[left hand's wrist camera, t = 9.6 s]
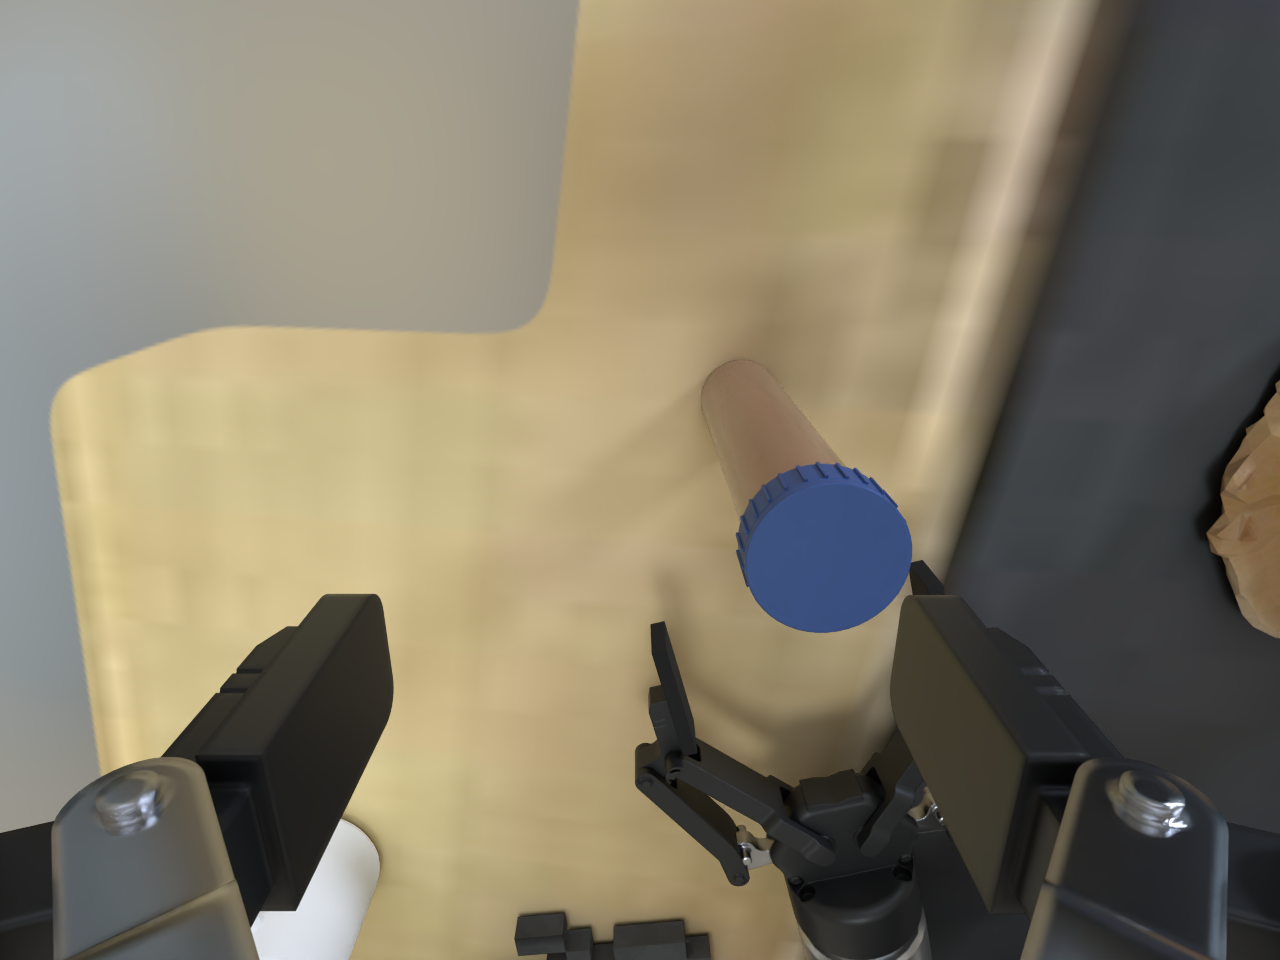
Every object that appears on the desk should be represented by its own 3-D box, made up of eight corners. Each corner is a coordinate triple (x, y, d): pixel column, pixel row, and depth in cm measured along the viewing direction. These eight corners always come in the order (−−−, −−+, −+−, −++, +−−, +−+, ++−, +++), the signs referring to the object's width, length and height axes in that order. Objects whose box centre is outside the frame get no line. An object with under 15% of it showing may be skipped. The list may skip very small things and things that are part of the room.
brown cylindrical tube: (778, 357, 39) (899, 484, 21) (778, 432, 40) (891, 611, 23) (699, 362, 39) (754, 493, 21) (702, 437, 40) (756, 619, 23)
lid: (899, 455, 22) (920, 474, 21) (891, 601, 24) (909, 630, 22) (733, 466, 22) (741, 486, 21) (737, 611, 24) (744, 640, 22)
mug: (232, 767, 48) (130, 910, 38) (359, 759, 48) (289, 900, 38) (277, 903, 52) (196, 1063, 42) (394, 896, 52) (339, 1055, 42)
